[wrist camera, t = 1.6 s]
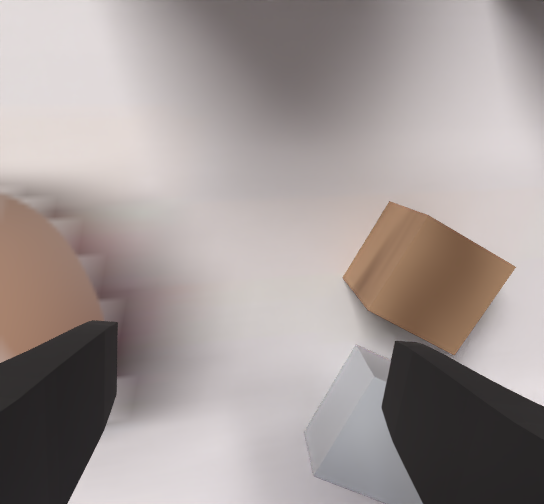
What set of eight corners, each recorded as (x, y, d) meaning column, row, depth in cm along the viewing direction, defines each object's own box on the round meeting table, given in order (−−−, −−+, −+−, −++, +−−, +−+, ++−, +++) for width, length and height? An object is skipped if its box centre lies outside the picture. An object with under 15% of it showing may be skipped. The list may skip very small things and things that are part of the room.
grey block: (444, 382, 24) (478, 422, 20) (391, 464, 25) (414, 514, 21) (354, 342, 23) (374, 376, 19) (303, 429, 24) (313, 476, 20)
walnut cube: (460, 242, 21) (515, 267, 17) (412, 314, 22) (454, 355, 18) (388, 201, 21) (428, 215, 16) (342, 277, 21) (368, 310, 17)
